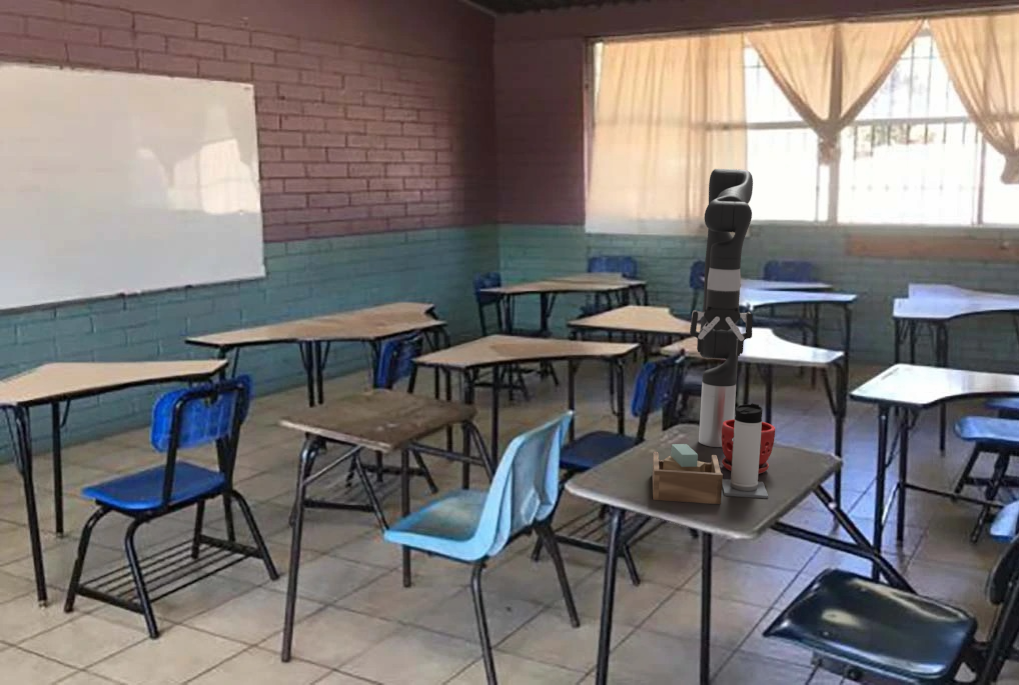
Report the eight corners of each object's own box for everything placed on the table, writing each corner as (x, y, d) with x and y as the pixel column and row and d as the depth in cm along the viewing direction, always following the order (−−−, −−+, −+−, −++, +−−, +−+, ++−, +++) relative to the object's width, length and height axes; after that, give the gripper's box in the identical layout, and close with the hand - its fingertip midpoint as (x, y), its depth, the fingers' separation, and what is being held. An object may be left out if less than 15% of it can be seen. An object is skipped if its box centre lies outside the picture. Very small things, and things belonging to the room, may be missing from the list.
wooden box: (652, 474, 240) (653, 447, 239) (715, 478, 238) (716, 451, 237) (653, 499, 223) (654, 470, 222) (720, 504, 221) (722, 474, 220)
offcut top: (685, 455, 238) (686, 443, 237) (697, 466, 230) (697, 454, 229) (670, 456, 237) (671, 444, 237) (681, 466, 229) (682, 454, 229)
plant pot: (773, 479, 239) (777, 433, 236) (719, 475, 241) (722, 429, 239) (770, 463, 251) (773, 419, 249) (719, 459, 254) (721, 415, 251)
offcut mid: (669, 467, 238) (669, 455, 238) (704, 474, 234) (705, 462, 233) (662, 471, 235) (663, 459, 234) (698, 478, 230) (699, 466, 230)
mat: (721, 481, 236) (721, 479, 236) (762, 484, 235) (763, 481, 235) (724, 495, 227) (724, 493, 226) (768, 498, 225) (768, 495, 225)
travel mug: (762, 486, 231) (768, 406, 227) (749, 493, 226) (755, 411, 223) (738, 480, 235) (744, 401, 232) (725, 487, 230) (730, 406, 227)
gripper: (752, 286, 229) (747, 352, 232) (691, 284, 230) (687, 350, 233) (756, 290, 221) (752, 359, 225) (694, 288, 223) (690, 357, 226)
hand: (719, 354), depth 229 cm, fingers open, 8 cm apart
